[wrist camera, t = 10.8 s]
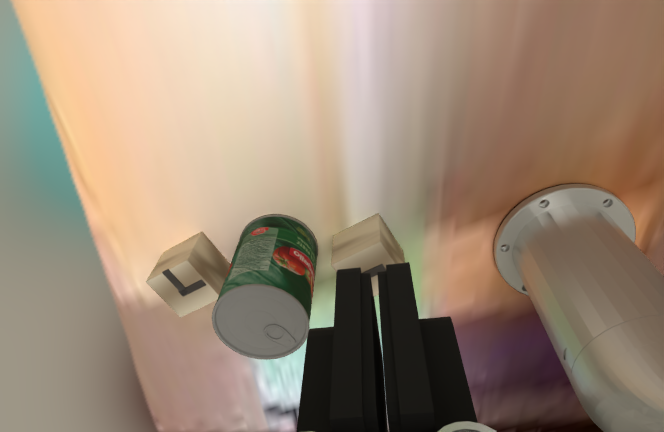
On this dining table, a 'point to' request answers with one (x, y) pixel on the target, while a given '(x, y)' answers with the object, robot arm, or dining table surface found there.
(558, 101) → the dining table surface
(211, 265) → the marked block two
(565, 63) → the dining table surface
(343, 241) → the marked block one
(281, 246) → the canned tomato
